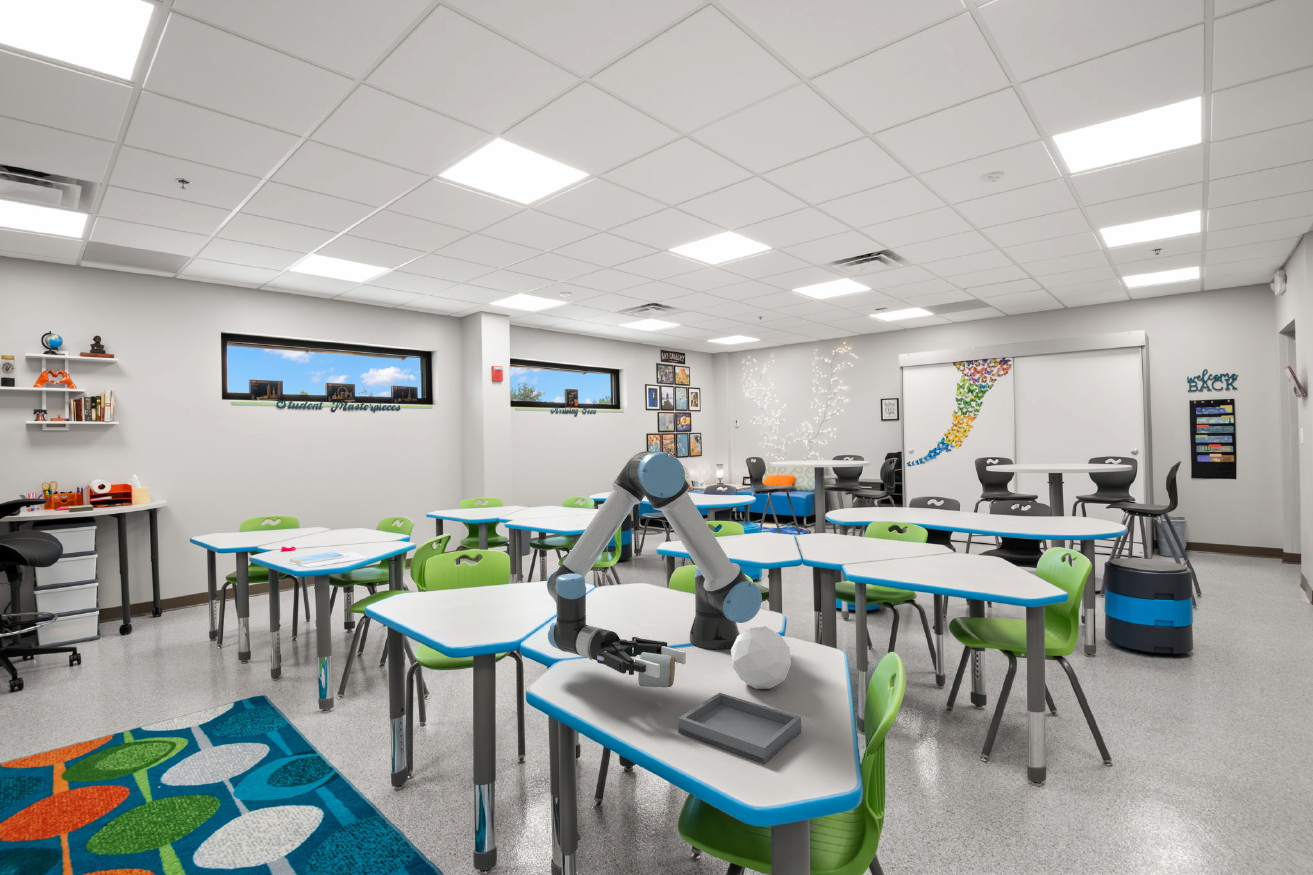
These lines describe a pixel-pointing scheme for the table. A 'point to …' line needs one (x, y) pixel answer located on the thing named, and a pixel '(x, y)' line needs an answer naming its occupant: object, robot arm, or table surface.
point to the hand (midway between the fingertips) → (672, 664)
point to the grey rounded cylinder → (665, 671)
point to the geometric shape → (761, 657)
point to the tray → (740, 726)
